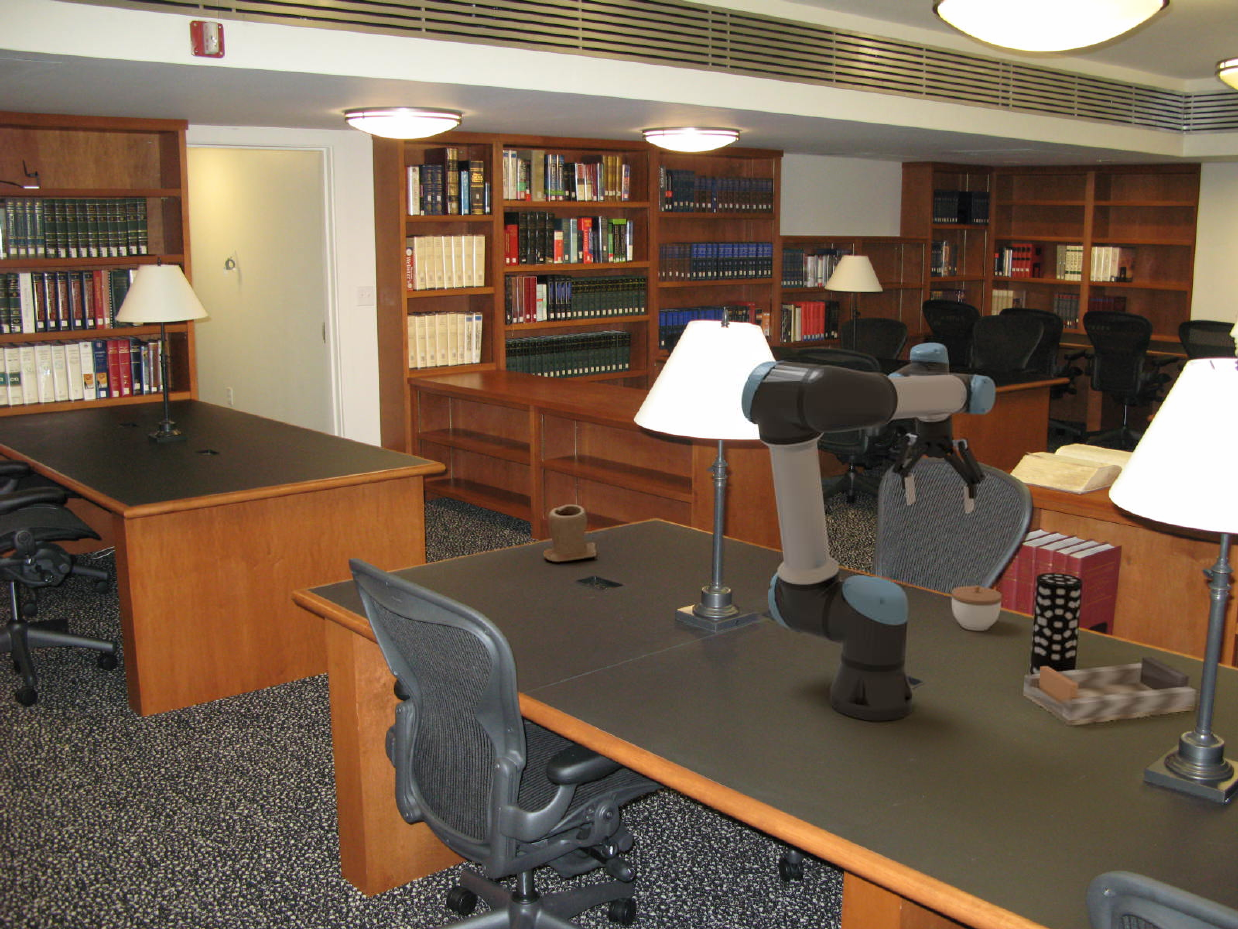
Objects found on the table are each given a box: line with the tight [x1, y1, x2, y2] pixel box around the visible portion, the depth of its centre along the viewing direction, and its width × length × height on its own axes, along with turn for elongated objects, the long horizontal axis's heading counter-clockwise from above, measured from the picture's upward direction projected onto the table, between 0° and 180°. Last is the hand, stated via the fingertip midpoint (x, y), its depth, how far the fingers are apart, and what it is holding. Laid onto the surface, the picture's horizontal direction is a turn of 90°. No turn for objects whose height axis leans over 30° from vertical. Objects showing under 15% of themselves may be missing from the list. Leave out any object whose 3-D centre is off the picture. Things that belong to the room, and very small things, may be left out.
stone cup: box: [543, 504, 597, 563], centre depth 301 cm, size 15×12×15 cm
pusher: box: [1039, 666, 1078, 704], centre depth 203 cm, size 2×9×5 cm, turn 14°
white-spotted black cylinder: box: [1029, 572, 1083, 675], centre depth 217 cm, size 8×8×20 cm
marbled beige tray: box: [1022, 656, 1197, 726], centre depth 206 cm, size 26×14×6 cm, turn 104°
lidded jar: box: [951, 584, 1003, 632], centre depth 247 cm, size 11×11×9 cm
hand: (940, 507), depth 242 cm, fingers open, 13 cm apart
